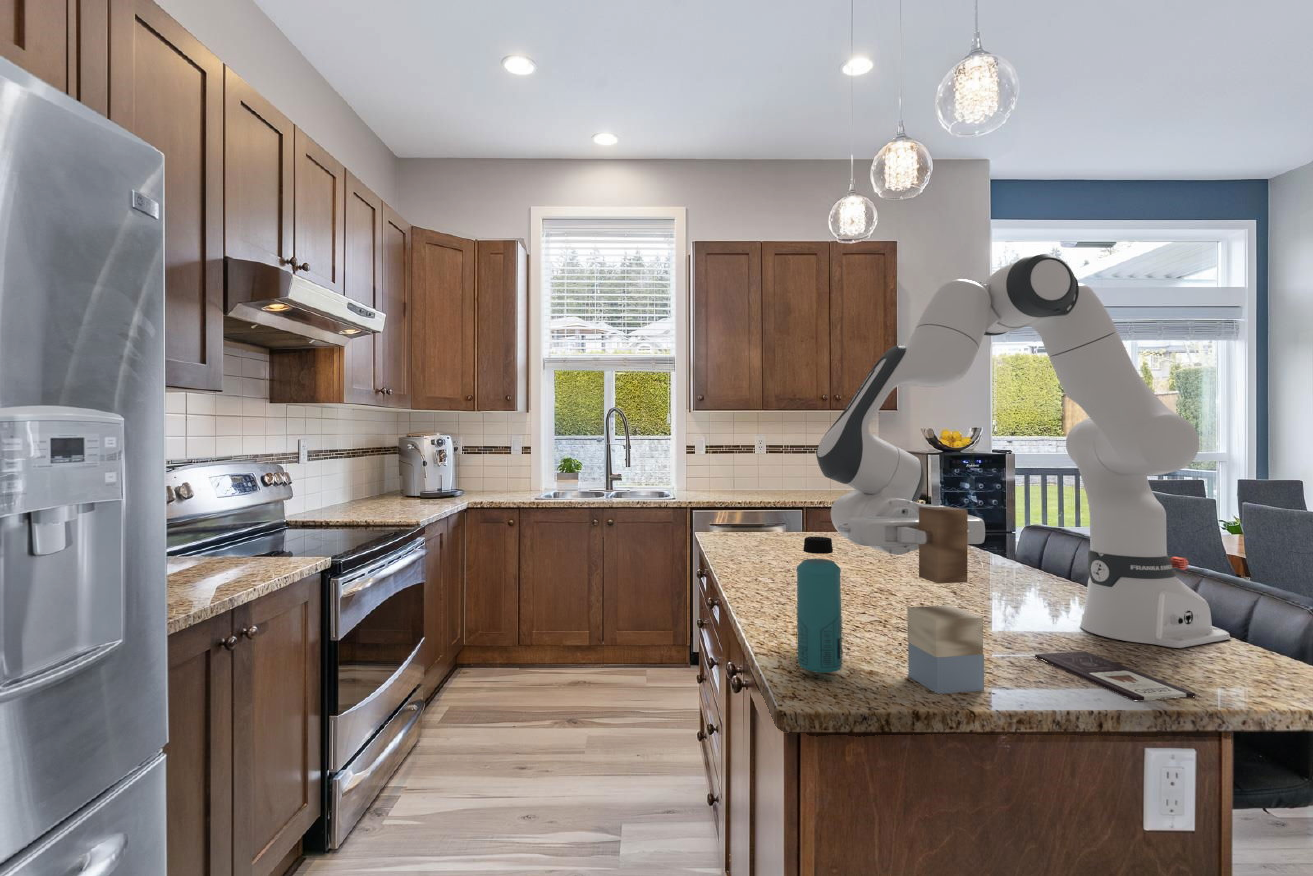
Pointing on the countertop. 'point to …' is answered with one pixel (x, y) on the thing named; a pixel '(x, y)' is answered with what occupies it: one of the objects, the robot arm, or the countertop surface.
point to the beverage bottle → (819, 610)
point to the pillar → (944, 544)
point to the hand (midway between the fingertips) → (946, 537)
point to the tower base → (946, 671)
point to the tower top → (945, 631)
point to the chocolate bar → (1114, 676)
